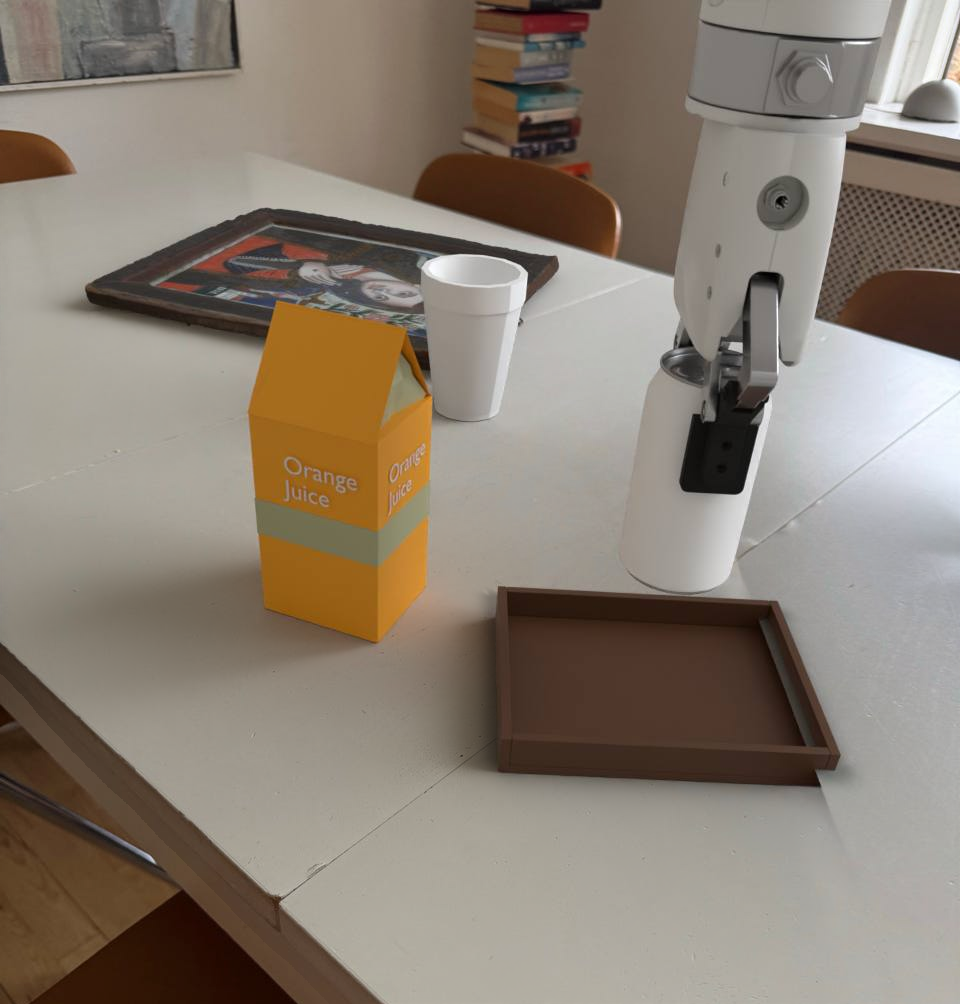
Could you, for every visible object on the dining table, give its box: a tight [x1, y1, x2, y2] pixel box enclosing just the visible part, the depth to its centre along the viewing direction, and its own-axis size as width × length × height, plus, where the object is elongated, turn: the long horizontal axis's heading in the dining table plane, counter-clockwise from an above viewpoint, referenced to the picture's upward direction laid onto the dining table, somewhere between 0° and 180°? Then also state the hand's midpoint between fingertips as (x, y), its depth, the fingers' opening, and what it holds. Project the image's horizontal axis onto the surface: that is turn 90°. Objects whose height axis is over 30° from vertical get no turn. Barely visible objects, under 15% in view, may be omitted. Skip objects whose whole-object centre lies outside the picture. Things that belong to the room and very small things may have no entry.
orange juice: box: [246, 300, 433, 644], centre depth 64 cm, size 8×9×20 cm
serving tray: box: [494, 585, 842, 788], centre depth 63 cm, size 19×15×3 cm
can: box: [618, 346, 773, 596], centre depth 54 cm, size 6×6×12 cm
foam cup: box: [421, 254, 528, 422], centre depth 93 cm, size 10×9×13 cm
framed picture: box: [84, 207, 560, 372], centre depth 120 cm, size 40×45×3 cm
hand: (698, 455), depth 53 cm, fingers closed on can, 6 cm apart
